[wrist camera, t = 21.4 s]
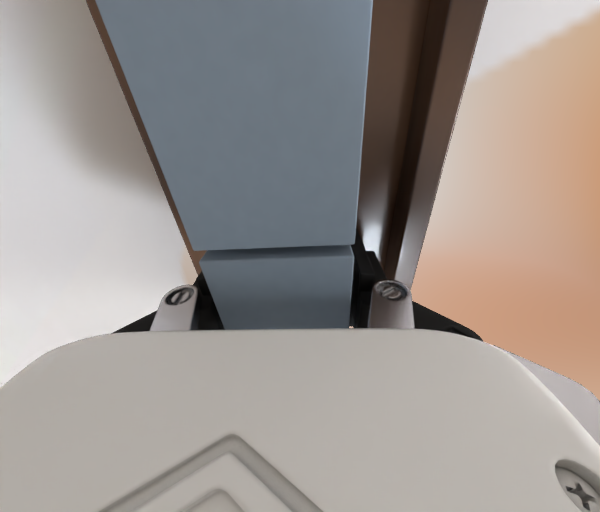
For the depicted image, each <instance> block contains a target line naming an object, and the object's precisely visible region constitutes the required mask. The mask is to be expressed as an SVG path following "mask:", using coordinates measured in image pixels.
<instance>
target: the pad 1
mask: <svg viewBox="0 0 600 512" xmlns="http://www.w3.org/2000/svg"><path fill="white" fill-rule="evenodd" d="M95 1H96V4H97V6H98V9H99V11H100V14H101V17H102V19H103V22H104V24H105V27H106V29H107V32H108V34H109V37H110V39H111V42H112V45H113V47H114V50H115V52H116V55H117V57H118V60H119V62H120V65H121V67H122V70H123V73H124V75H125V78H126V80H127V83H128V85H129V88H130V90H131V93H132V96H133V98H134V101H135V103H136V106H137V108H138V111H139V113H140V116H141V118H142V121H143V124H144V126H145V129H146V131H147V134H148V136H149V139H150V141H151V144H152V146H153V149H154V152H155V154H156V157H157V159H158V162H159V164H160V167H161V169H162V172H163V174H164V177H165V180H166V182H167V185H168V187H169V190H170V192H171V195H172V197H173V200H174V203H175V205H176V208H177V210H178V213H179V215H180V218H181V220H182V223H183V225H184V228H185V231H186V233H187V236H188V238H189V241H190V243H191V246H192V248H193V250H194V251H202V250H227V249H252V248H277V247H302V246H327V245H352V244H355V236H356V222H357V209H358V195H359V182H360V168H361V155H362V141H363V128H364V114H365V101H366V87H367V74H368V60H369V47H370V33H371V20H372V6H373V0H95Z"/></svg>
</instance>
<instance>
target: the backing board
mask: <svg viewBox="0 0 600 512" xmlns="http://www.w3.org/2000/svg"><path fill="white" fill-rule="evenodd" d="M86 2H87V5H88V7H89V10H90V12H91V15H92V17H93V20H94V22H95V24H96V27H97V29H98V32H99V34H100V37H101V39H102V42H103V44H104V46H105V49H106V51H107V54H108V56H109V59H110V61H111V64H112V66H113V69H114V71H115V73H116V76H117V78H118V81H119V83H120V86H121V88H122V91H123V93H124V95H125V98H126V100H127V103H128V105H129V108H130V110H131V113H132V115H133V117H134V120H135V122H136V125H137V127H138V130H139V132H140V135H141V137H142V140H143V142H144V144H145V147H146V149H147V152H148V154H149V157H150V159H151V162H152V164H153V166H154V169H155V171H156V174H157V176H158V179H159V181H160V184H161V186H162V188H163V191H164V193H165V196H166V198H167V201H168V203H169V206H170V208H171V210H172V213H173V215H174V218H175V220H176V223H177V225H178V228H179V230H180V233H181V235H182V237H183V240H184V242H185V245H186V247H187V250H188V252H189V255H190V257H191V259H192V262H193V264H194V267H195V269H196V272H197V274H198V276H199V274H200V273H201V271H202V269H201V267H200V264H199V261H200V260H201V258H202V257H203V256H204V254H205V253H206V252H207V250H202V251H194V250H193V248H192V246H191V243H190V241H189V238H188V236H187V233H186V231H185V228H184V225H183V223H182V220H181V218H180V215H179V213H178V210H177V208H176V205H175V203H174V200H173V197H172V195H171V192H170V190H169V187H168V185H167V182H166V180H165V177H164V174H163V172H162V169H161V167H160V164H159V162H158V159H157V157H156V154H155V152H154V149H153V146H152V144H151V141H150V139H149V136H148V134H147V131H146V129H145V126H144V124H143V121H142V118H141V116H140V113H139V111H138V108H137V106H136V103H135V101H134V98H133V96H132V93H131V90H130V88H129V85H128V83H127V80H126V78H125V75H124V73H123V70H122V67H121V65H120V62H119V60H118V57H117V55H116V52H115V50H114V47H113V45H112V42H111V39H110V37H109V34H108V32H107V29H106V27H105V24H104V22H103V19H102V17H101V14H100V11H99V9H98V6H97V4H96V1H95V0H86ZM487 2H488V0H373V6H372V20H371V33H370V47H369V60H368V74H367V87H366V101H365V114H364V128H363V141H362V155H361V168H360V182H359V195H358V209H357V222H356V228H357V230H358V232H359V235H360V237H361V239H362V242H363V244H364V247H365V249H366V251H374V252H375V254H376V256H377V258H378V260H379V263H380V265H381V267H382V269H383V271H384V273H385V276H386V278H387V279H393V280H397V281H399V282H402V283H403V284H405V285H406V286H407V287H408V288H409V289H410V290H411V286H412V283H413V279H414V275H415V272H416V268H417V264H418V260H419V256H420V252H421V249H422V245H423V242H424V238H425V234H426V230H427V227H428V223H429V219H430V215H431V211H432V208H433V204H434V200H435V196H436V193H437V189H438V185H439V182H440V178H441V174H442V171H443V167H444V163H445V159H446V156H447V152H448V148H449V144H450V141H451V137H452V133H453V130H454V125H455V122H456V118H457V115H458V110H459V107H460V103H461V99H462V95H463V92H464V88H465V85H466V81H467V77H468V73H469V70H470V66H471V62H472V58H473V55H474V51H475V47H476V44H477V40H478V36H479V32H480V29H481V25H482V21H483V17H484V14H485V10H486V6H487Z"/></svg>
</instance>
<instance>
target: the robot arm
mask: <svg viewBox="0 0 600 512" xmlns="http://www.w3.org/2000/svg"><path fill="white" fill-rule="evenodd" d="M351 248H352V251H353V255H354V267H353V280H352V294H351V307H350V320H349V326H353V327H354V328H333V329H243V330H225V328H224V326H223V323H222V321H221V318H220V316H219V313H218V310H217V308H216V305H215V303H214V300H213V298H212V295H211V293H210V290H209V287H208V285H207V282H206V280H205V277H204V275H203V272H202V271H201V273H200V274H199V276H198V277H197V279H196V281H195V283H194V284H193V285H182V286H179V287H176V288H174V289H172V290H171V291H169V292H168V293H167V294H165V295H164V297H163V298H162V300H161V303H160V305H159V308H158V310H157V311H155V312H153V313H151V314H149V315H147V316H145V317H143V318H141V319H139V320H137V321H135V322H133V323H131V324H129V325H127V326H125V327H123V328H121V329H119V330H117V331H115V332H113V333H111V334H105V335H99V336H94V337H90V338H85V339H82V340H78V341H75V342H72V343H68V344H66V345H63V346H61V347H58V348H56V349H54V350H51V351H49V352H47V353H45V354H44V355H42V356H40V357H39V358H37V359H36V360H35V361H33V362H32V363H31V364H29V365H28V366H27V367H25V368H24V369H23V370H22V371H20V372H19V373H18V374H16V375H15V376H14V377H13V378H12V379H10V380H9V381H8V382H7V383H6V384H4V385H3V386H2V387H1V388H0V512H600V401H599V400H598V399H597V398H596V397H595V396H594V394H593V393H591V392H590V391H589V390H587V389H586V388H585V387H583V386H582V385H581V384H579V383H577V382H575V381H573V380H571V379H569V378H567V377H565V376H563V375H560V374H558V373H556V372H554V371H551V370H549V369H547V368H545V367H542V366H540V365H538V364H536V363H533V362H531V361H529V360H526V359H524V358H522V357H520V356H518V355H515V354H513V353H511V352H508V351H506V350H504V349H501V348H499V347H497V346H495V345H490V344H488V343H485V342H483V340H482V339H481V338H480V336H478V335H477V334H476V333H475V332H473V331H472V330H470V329H469V328H467V327H465V326H463V325H461V324H459V323H456V322H454V321H452V320H450V319H448V318H446V317H444V316H442V315H440V314H438V313H436V312H434V311H432V310H430V309H428V308H426V307H424V306H422V305H420V304H418V303H416V302H413V301H412V296H411V291H410V289H409V288H408V287H407V286H406V285H405V284H403V283H402V282H399V281H397V280H393V279H387V278H386V276H385V273H384V271H383V269H382V267H381V265H380V263H379V260H378V258H377V256H376V254H375V252H374V251H366V249H365V247H364V244H363V242H362V239H361V237H360V235H359V232H358V230H357V228H356V236H355V244H352V245H351Z"/></svg>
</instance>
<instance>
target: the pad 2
mask: <svg viewBox="0 0 600 512" xmlns="http://www.w3.org/2000/svg"><path fill="white" fill-rule="evenodd" d="M199 264H200V267H201V269H202V272H203V275H204V277H205V280H206V282H207V285H208V287H209V290H210V293H211V295H212V298H213V300H214V303H215V305H216V308H217V310H218V313H219V316H220V318H221V321H222V323H223V326H224V328H225V330H243V329H333V328H349V320H350V307H351V294H352V280H353V267H354V255H353V251H352V248H351V245H327V246H302V247H277V248H252V249H227V250H207V252H206V253H205V254H204V256H203V257H202V258H201V260H200V261H199Z"/></svg>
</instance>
